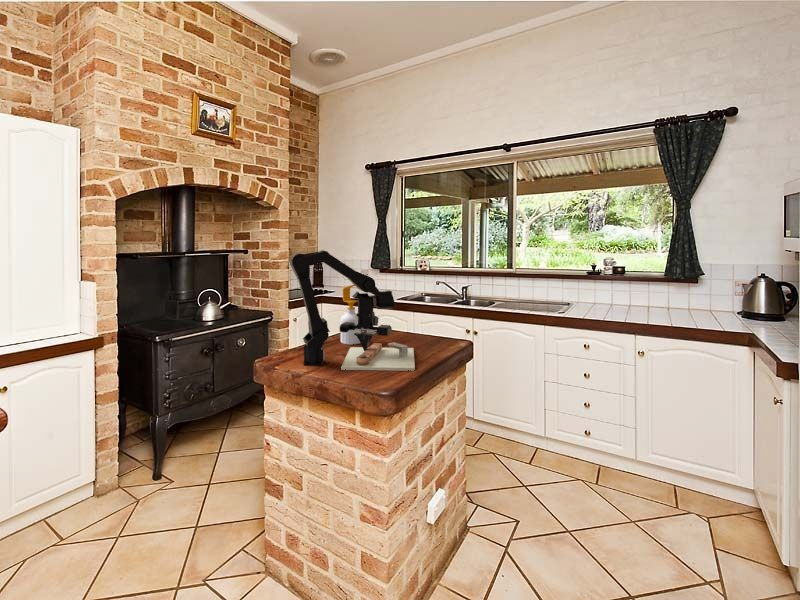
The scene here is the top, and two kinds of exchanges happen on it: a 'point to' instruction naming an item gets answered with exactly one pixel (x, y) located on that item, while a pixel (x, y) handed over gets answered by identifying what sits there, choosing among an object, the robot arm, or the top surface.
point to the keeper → (400, 348)
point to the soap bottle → (349, 318)
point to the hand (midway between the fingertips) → (365, 351)
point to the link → (369, 354)
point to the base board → (380, 360)
